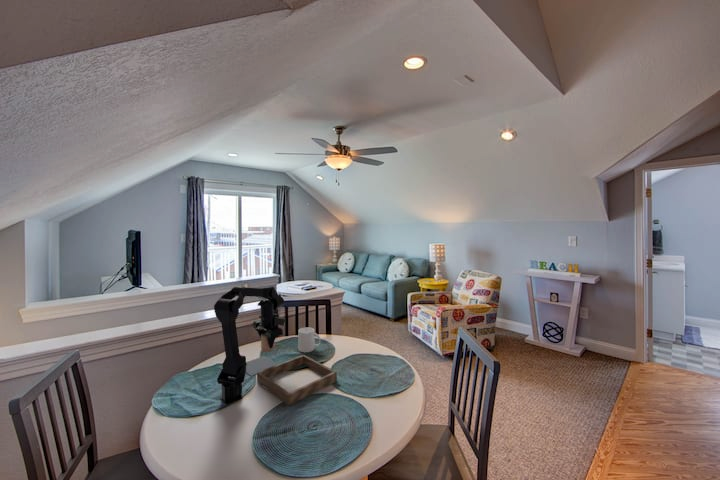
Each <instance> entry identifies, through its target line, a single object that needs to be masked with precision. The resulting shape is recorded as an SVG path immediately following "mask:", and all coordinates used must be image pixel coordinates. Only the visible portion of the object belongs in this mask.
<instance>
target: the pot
mask: <svg viewBox="0 0 720 480" xmlns="http://www.w3.org/2000/svg"><path fill="white" fill-rule="evenodd" d="M265 335H267V332H266V333H263V334H261V339H260V348H261V349H260V350H261V351H260V352H263V353H270V352H273V351H274V350H275V348H276V346H275V345H276V344H275V341H274V344H273V347H272V348H269V345H268V342H267V339H266V336H265Z"/></svg>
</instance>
